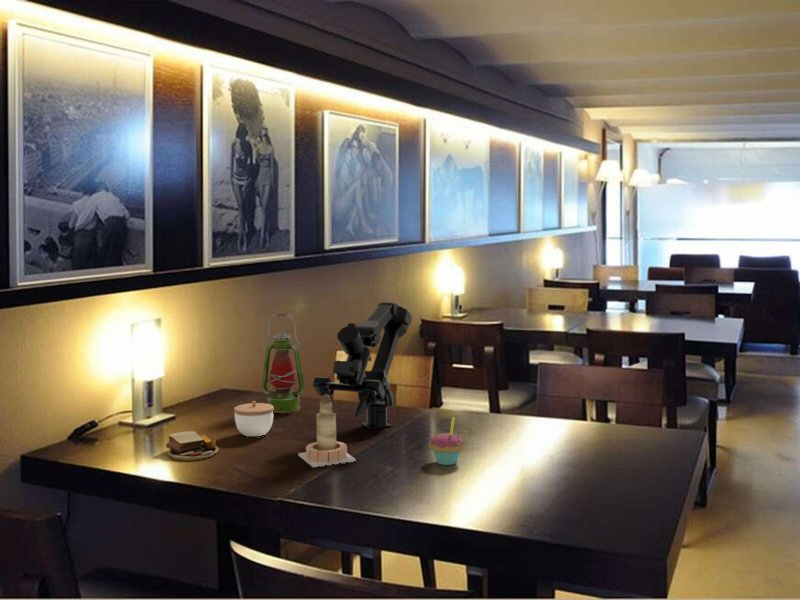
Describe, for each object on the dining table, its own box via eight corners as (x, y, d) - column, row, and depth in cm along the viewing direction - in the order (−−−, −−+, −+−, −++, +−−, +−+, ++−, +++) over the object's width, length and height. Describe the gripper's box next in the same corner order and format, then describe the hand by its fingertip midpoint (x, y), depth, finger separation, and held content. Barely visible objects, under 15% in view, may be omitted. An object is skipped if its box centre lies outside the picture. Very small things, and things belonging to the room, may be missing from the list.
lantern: (256, 413, 255) (253, 315, 252) (267, 405, 266) (265, 311, 263) (299, 414, 253) (298, 316, 250) (310, 406, 263) (308, 312, 260)
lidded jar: (282, 434, 230) (281, 401, 229) (250, 442, 223) (249, 407, 222) (258, 428, 238) (257, 395, 237) (226, 435, 230) (225, 401, 229)
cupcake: (467, 459, 206) (467, 411, 205) (458, 469, 198) (458, 419, 197) (434, 456, 209) (434, 408, 208) (424, 465, 201) (424, 416, 200)
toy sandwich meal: (176, 465, 204) (176, 446, 203) (160, 452, 215) (159, 434, 214) (225, 457, 210) (225, 438, 210) (207, 444, 222) (206, 427, 221)
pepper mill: (316, 453, 209) (315, 392, 208) (336, 452, 210) (335, 392, 208) (317, 459, 205) (316, 396, 203) (336, 458, 205) (336, 396, 204)
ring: (298, 455, 210) (298, 443, 210) (339, 450, 215) (339, 438, 214) (312, 467, 200) (312, 454, 200) (355, 461, 205) (355, 449, 204)
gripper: (314, 346, 220) (296, 396, 211) (380, 349, 214) (364, 401, 205) (327, 370, 229) (310, 419, 220) (391, 374, 222) (376, 425, 213)
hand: (339, 415), depth 214 cm, fingers open, 9 cm apart
